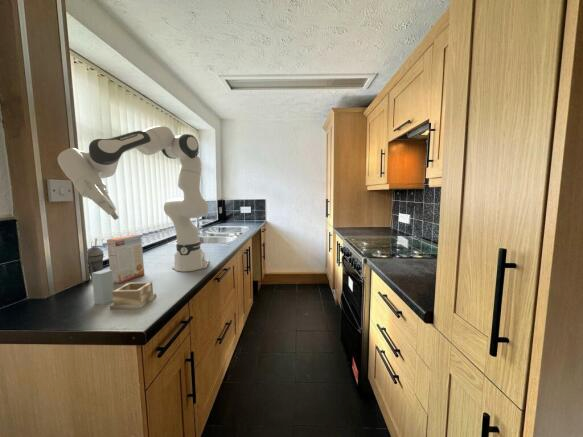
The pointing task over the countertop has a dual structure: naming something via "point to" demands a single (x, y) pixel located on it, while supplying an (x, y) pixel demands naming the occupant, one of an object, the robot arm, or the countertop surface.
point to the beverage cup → (95, 259)
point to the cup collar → (132, 295)
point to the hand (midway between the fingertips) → (113, 216)
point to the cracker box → (125, 257)
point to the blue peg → (103, 286)
